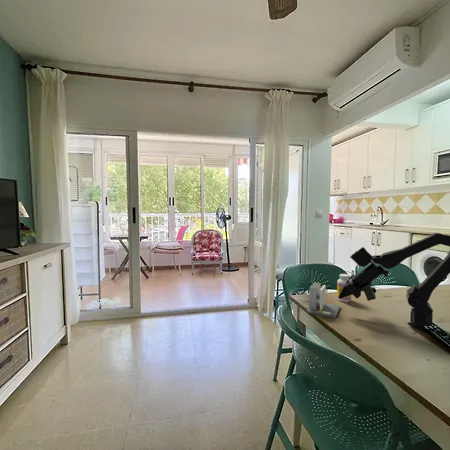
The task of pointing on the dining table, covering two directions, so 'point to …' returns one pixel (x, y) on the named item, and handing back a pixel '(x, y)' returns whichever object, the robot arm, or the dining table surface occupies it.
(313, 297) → the anvil block
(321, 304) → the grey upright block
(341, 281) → the supplement bottle
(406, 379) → the dining table surface
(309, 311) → the base
